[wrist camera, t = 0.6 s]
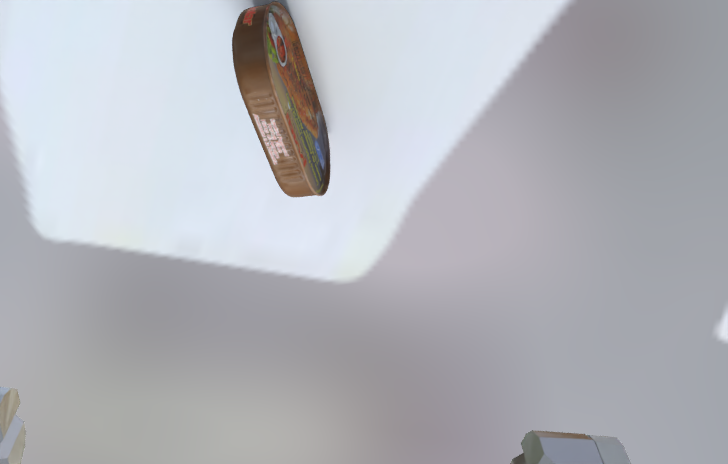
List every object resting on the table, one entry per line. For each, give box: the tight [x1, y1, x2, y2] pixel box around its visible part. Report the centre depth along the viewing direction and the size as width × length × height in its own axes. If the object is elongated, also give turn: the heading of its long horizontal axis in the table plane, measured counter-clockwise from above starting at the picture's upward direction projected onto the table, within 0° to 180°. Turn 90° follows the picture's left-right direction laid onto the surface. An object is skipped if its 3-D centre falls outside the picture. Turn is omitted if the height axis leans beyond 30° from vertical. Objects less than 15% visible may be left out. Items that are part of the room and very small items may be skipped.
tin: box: [232, 2, 330, 197], centre depth 48 cm, size 15×3×8 cm, turn 13°
